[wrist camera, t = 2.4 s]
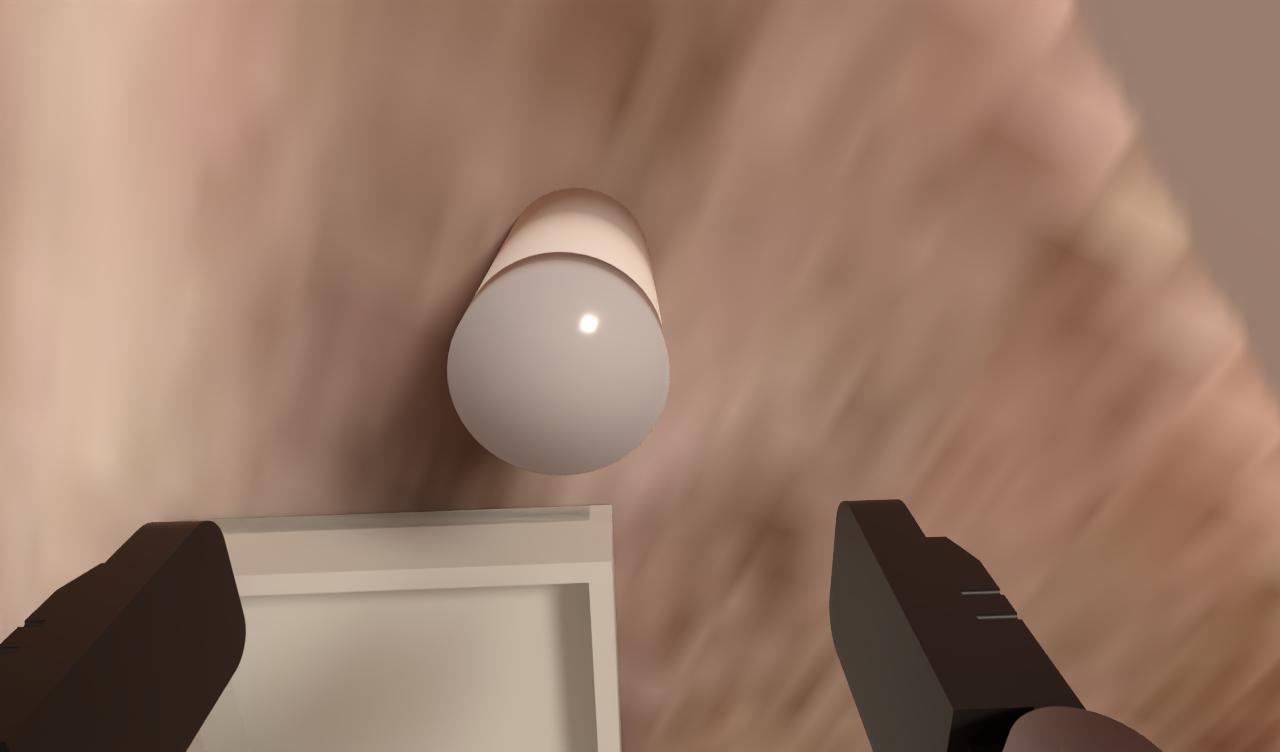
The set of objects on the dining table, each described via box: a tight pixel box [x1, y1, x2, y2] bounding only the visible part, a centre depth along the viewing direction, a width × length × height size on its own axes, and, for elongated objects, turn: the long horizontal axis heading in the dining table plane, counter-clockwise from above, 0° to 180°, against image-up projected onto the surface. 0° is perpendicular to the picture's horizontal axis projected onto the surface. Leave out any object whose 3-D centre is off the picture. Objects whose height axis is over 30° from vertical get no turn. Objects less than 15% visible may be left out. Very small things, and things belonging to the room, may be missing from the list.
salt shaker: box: [447, 188, 670, 475], centre depth 21 cm, size 5×5×10 cm
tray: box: [182, 505, 622, 752], centre depth 31 cm, size 16×18×4 cm
